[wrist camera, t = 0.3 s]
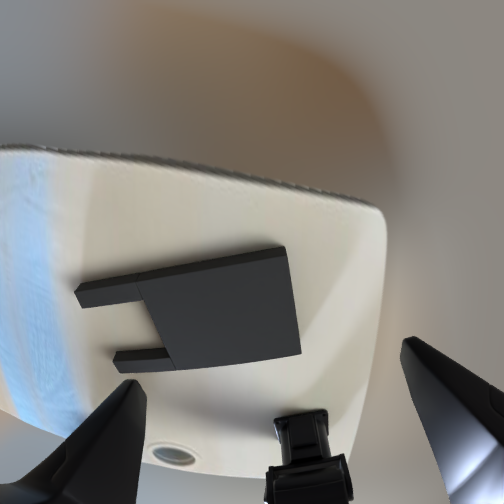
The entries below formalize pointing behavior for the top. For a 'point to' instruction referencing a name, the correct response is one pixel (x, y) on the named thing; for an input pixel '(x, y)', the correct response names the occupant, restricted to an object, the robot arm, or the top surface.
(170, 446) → the top surface
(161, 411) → the top surface
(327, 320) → the top surface
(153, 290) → the base pad
